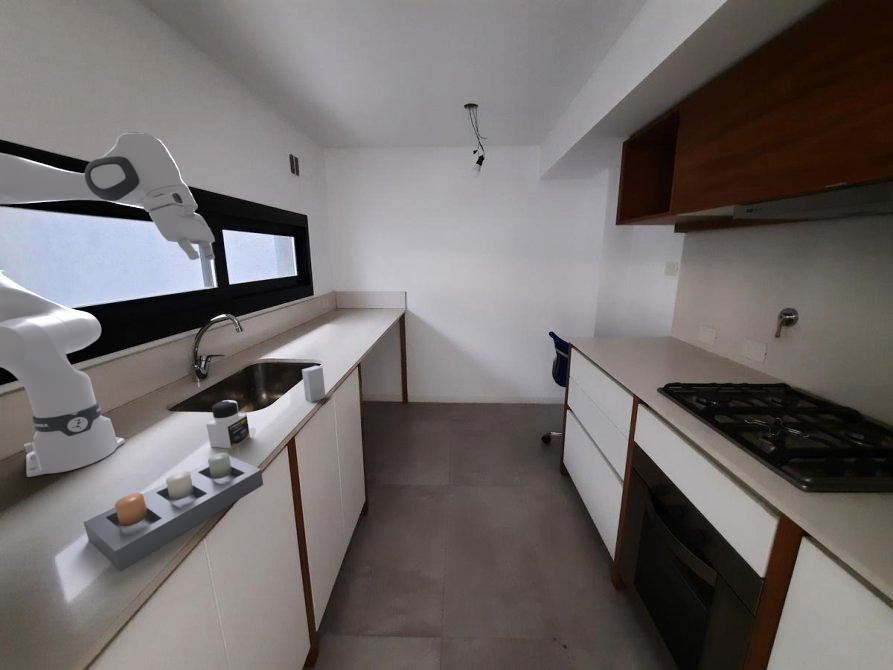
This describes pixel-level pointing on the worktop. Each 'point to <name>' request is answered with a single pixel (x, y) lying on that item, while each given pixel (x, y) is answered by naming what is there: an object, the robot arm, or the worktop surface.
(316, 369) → the skincare box
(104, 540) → the tray
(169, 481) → the button cream
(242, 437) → the medicine bottle
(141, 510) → the button terracotta
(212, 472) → the button sage
